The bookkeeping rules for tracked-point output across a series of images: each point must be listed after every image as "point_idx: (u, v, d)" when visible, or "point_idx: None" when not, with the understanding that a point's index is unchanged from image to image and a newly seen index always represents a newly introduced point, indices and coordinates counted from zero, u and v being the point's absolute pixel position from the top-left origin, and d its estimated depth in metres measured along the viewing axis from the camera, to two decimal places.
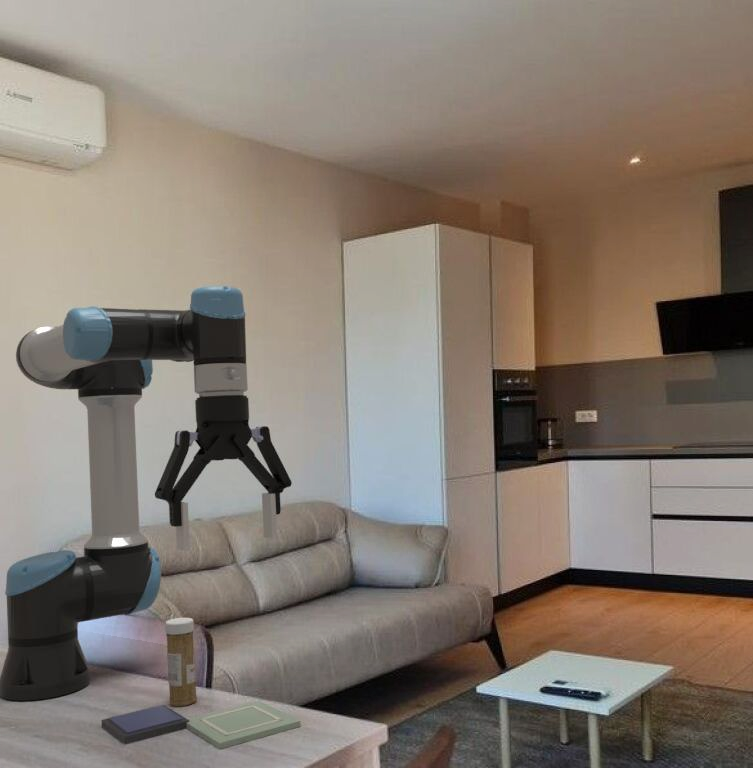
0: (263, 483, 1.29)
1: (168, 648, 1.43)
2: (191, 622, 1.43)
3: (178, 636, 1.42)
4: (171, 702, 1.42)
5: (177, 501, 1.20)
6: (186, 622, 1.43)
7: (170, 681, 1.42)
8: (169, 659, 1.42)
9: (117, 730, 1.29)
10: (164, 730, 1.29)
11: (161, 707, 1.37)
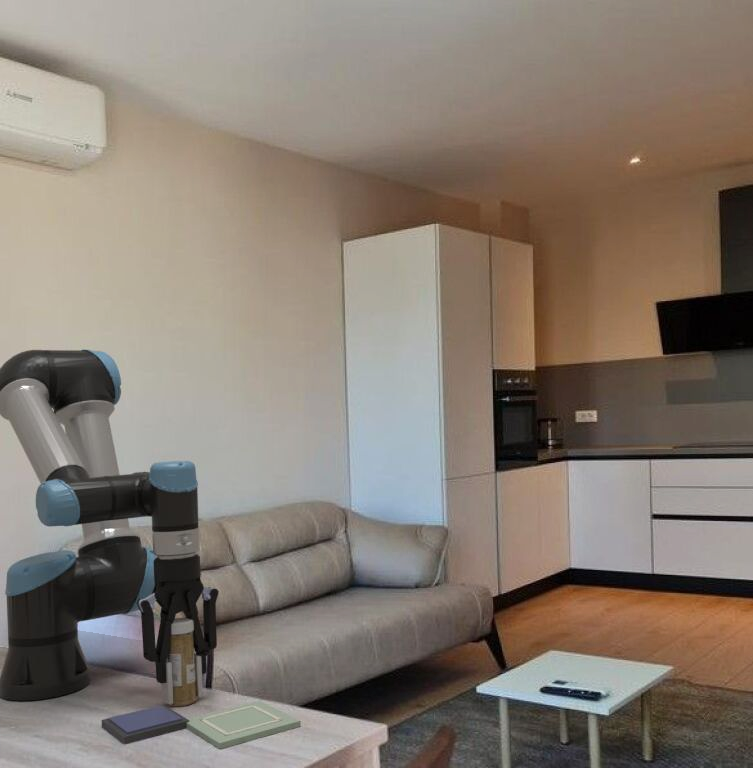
0: (194, 642, 1.46)
1: None
2: (191, 622, 1.43)
3: (178, 636, 1.42)
4: None
5: (163, 662, 1.41)
6: (186, 622, 1.43)
7: None
8: (169, 659, 1.42)
9: (117, 730, 1.29)
10: (164, 730, 1.29)
11: (161, 707, 1.37)
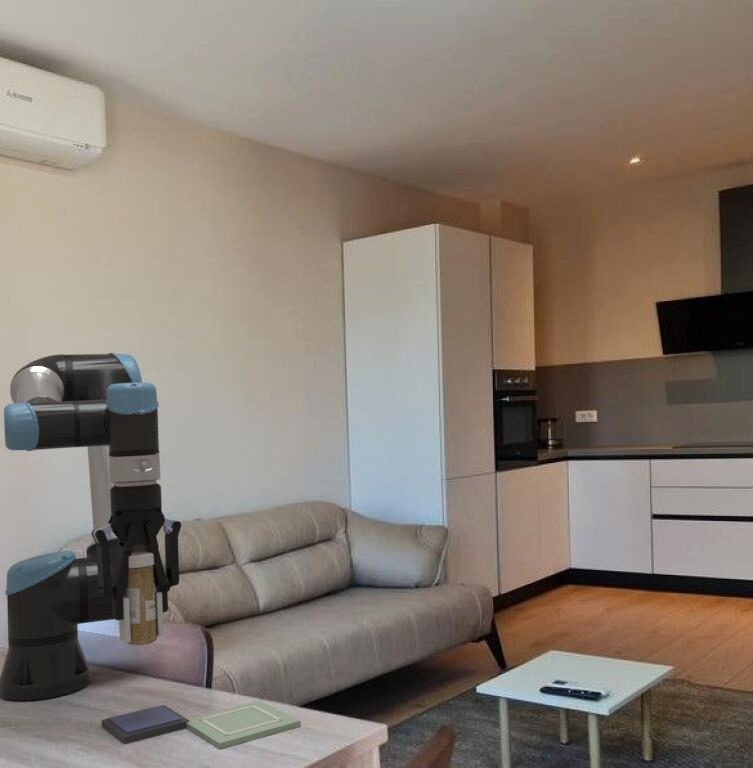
0: (154, 577, 1.35)
1: (126, 583, 1.32)
2: (151, 555, 1.33)
3: (136, 570, 1.31)
4: None
5: (120, 597, 1.30)
6: (145, 555, 1.32)
7: None
8: (127, 595, 1.32)
9: (117, 730, 1.29)
10: (164, 730, 1.29)
11: (161, 707, 1.37)
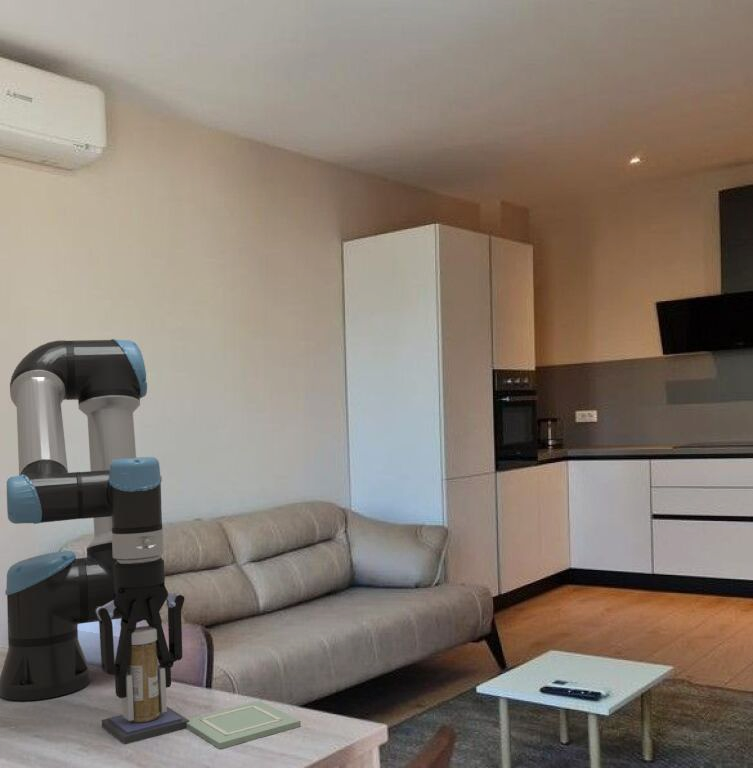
0: (157, 652, 1.35)
1: (129, 659, 1.32)
2: (154, 631, 1.32)
3: (139, 647, 1.31)
4: None
5: (123, 675, 1.30)
6: (148, 631, 1.32)
7: None
8: (130, 671, 1.31)
9: (117, 730, 1.29)
10: (164, 730, 1.29)
11: None
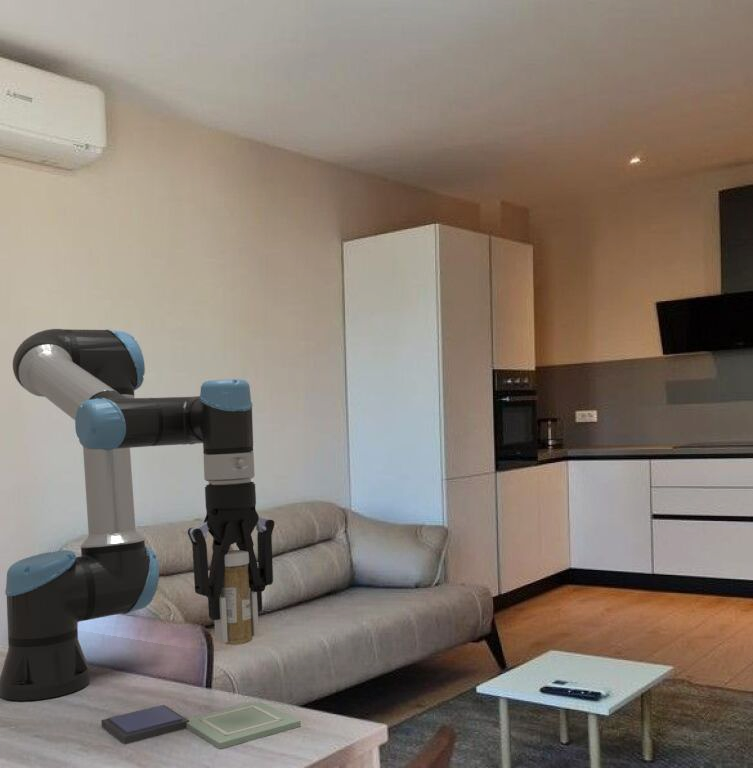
0: None
1: None
2: (246, 554, 1.31)
3: (233, 569, 1.30)
4: None
5: (217, 596, 1.29)
6: (241, 553, 1.30)
7: None
8: (223, 594, 1.30)
9: (117, 730, 1.29)
10: (164, 730, 1.29)
11: (161, 707, 1.37)
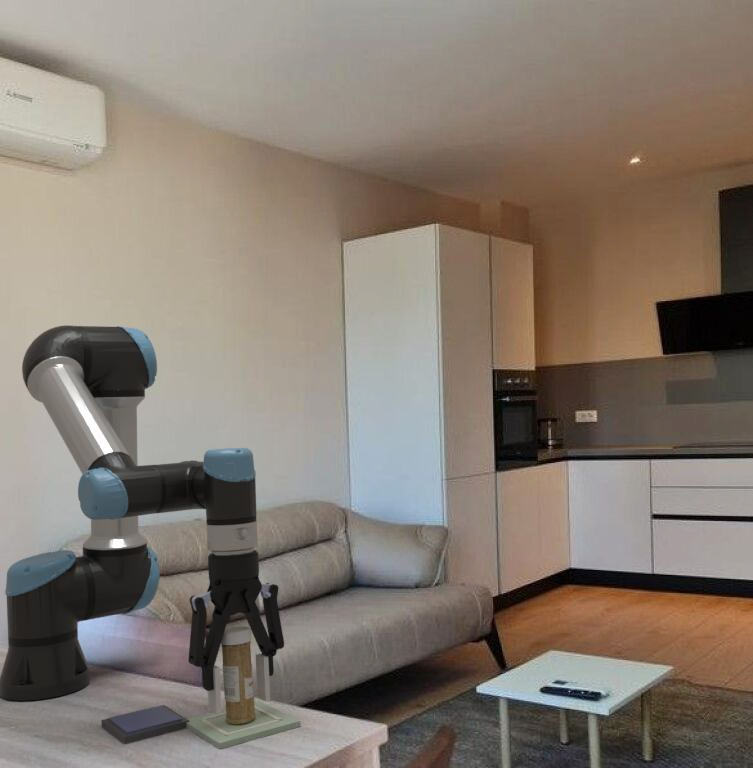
0: (259, 642, 1.34)
1: (224, 660, 1.30)
2: (248, 631, 1.31)
3: (235, 647, 1.29)
4: (228, 720, 1.29)
5: (210, 667, 1.27)
6: (243, 631, 1.30)
7: (227, 696, 1.30)
8: (225, 672, 1.30)
9: (117, 730, 1.29)
10: (164, 730, 1.29)
11: (161, 707, 1.37)
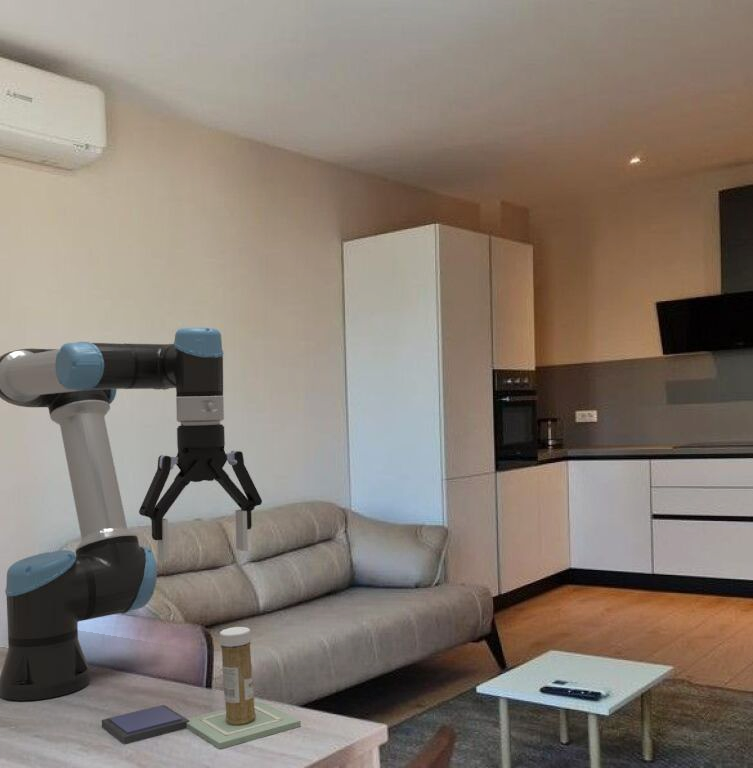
0: (236, 501, 1.45)
1: (223, 661, 1.30)
2: (248, 632, 1.30)
3: (235, 648, 1.29)
4: (228, 720, 1.29)
5: (158, 518, 1.36)
6: (243, 632, 1.30)
7: (226, 697, 1.29)
8: (225, 673, 1.30)
9: (117, 730, 1.29)
10: (164, 730, 1.29)
11: (161, 707, 1.37)
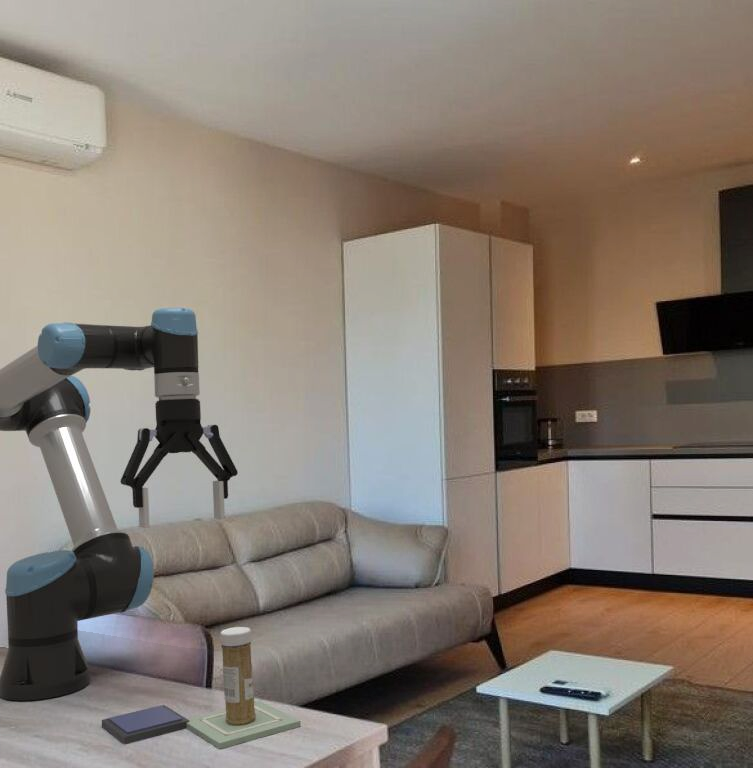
0: (213, 472, 1.54)
1: (224, 661, 1.30)
2: (248, 632, 1.31)
3: (235, 648, 1.29)
4: (228, 720, 1.29)
5: (139, 486, 1.44)
6: (243, 632, 1.30)
7: (227, 697, 1.30)
8: (225, 673, 1.30)
9: (117, 730, 1.29)
10: (164, 730, 1.29)
11: (161, 707, 1.37)
